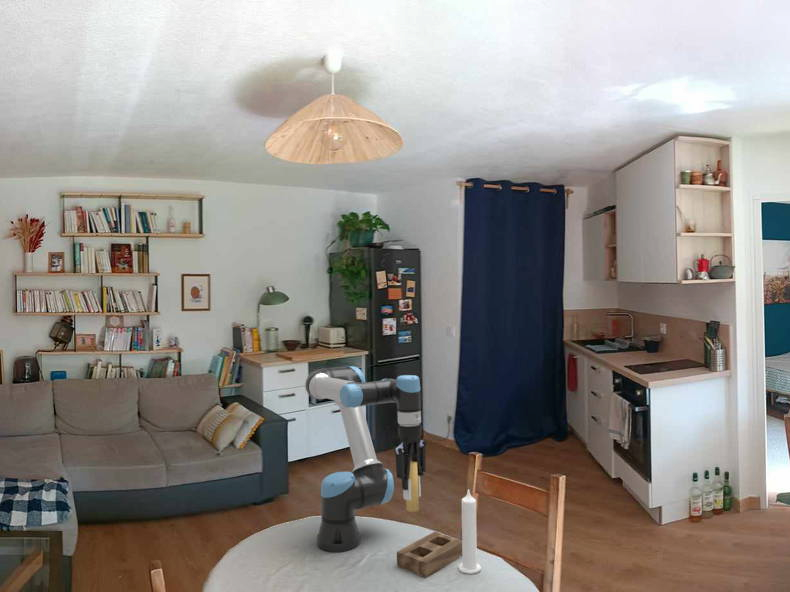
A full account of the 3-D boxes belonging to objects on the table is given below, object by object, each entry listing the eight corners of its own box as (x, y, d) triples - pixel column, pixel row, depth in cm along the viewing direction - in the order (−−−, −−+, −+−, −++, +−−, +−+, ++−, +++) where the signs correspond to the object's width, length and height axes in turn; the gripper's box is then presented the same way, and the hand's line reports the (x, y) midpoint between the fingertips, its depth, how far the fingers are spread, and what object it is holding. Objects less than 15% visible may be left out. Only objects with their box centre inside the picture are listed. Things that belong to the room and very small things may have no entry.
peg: (403, 510, 183) (402, 462, 183) (412, 506, 186) (410, 460, 186) (413, 512, 180) (411, 464, 181) (421, 509, 183) (419, 461, 184)
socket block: (396, 565, 183) (396, 551, 183) (434, 544, 198) (434, 531, 198) (426, 577, 175) (426, 563, 175) (463, 554, 190) (463, 541, 190)
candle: (480, 575, 176) (479, 493, 176) (457, 573, 177) (456, 492, 177) (481, 564, 183) (480, 486, 183) (459, 562, 184) (458, 485, 184)
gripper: (400, 430, 175) (403, 507, 174) (435, 421, 187) (438, 493, 187) (382, 427, 180) (385, 502, 179) (418, 418, 193) (420, 488, 192)
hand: (412, 497), depth 183 cm, fingers closed on peg, 4 cm apart
